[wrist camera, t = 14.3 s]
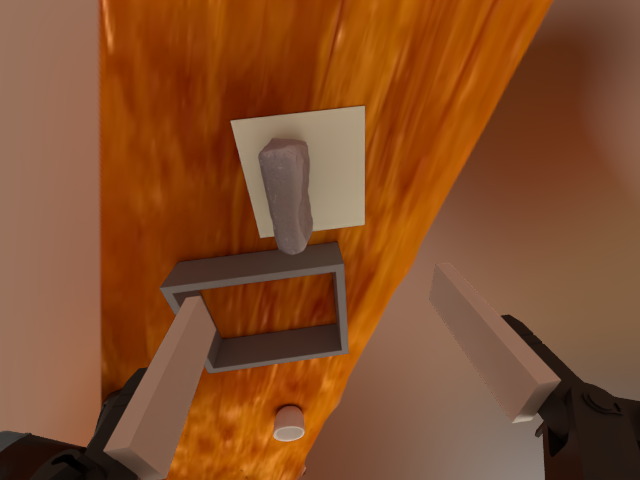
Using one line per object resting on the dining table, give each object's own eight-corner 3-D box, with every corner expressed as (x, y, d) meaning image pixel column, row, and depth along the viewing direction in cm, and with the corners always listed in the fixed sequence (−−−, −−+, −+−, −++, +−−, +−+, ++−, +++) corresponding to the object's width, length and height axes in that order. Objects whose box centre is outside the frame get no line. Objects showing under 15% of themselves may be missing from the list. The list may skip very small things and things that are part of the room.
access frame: (217, 344, 48) (208, 373, 43) (177, 262, 38) (159, 288, 33) (342, 326, 49) (348, 353, 44) (337, 241, 39) (343, 263, 34)
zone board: (260, 236, 37) (260, 237, 36) (231, 120, 29) (230, 120, 28) (363, 222, 38) (364, 224, 37) (363, 105, 29) (364, 105, 29)
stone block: (266, 134, 29) (254, 149, 21) (305, 131, 30) (310, 145, 21) (279, 221, 35) (274, 261, 27) (311, 219, 36) (317, 257, 27)
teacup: (280, 400, 61) (279, 425, 57) (308, 403, 63) (309, 427, 59) (268, 419, 66) (266, 444, 61) (295, 422, 68) (295, 445, 63)
